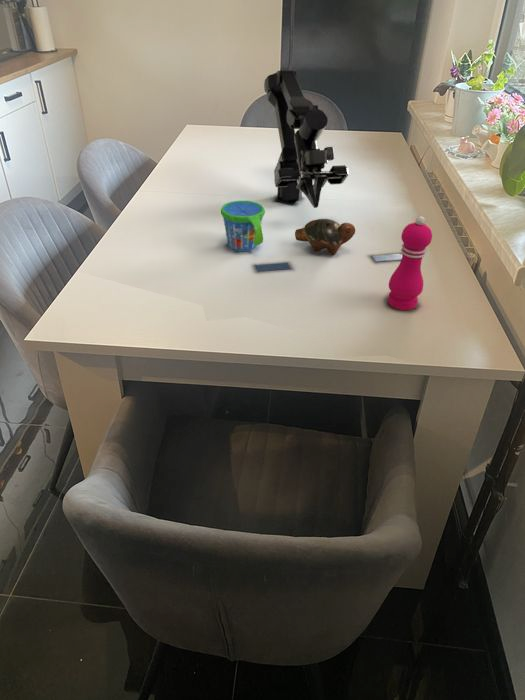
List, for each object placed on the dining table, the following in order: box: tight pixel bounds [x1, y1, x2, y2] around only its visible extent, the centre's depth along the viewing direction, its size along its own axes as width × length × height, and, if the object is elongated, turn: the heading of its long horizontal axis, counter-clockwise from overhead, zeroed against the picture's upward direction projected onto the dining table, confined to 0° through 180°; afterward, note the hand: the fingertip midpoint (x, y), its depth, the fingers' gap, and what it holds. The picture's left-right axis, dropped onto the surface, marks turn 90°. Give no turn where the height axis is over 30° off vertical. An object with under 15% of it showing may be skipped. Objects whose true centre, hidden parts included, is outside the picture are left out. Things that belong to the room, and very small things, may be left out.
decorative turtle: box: [294, 218, 356, 256], centre depth 137 cm, size 10×15×8 cm, turn 80°
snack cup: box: [220, 200, 266, 252], centre depth 136 cm, size 16×10×10 cm
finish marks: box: [255, 253, 402, 273], centre depth 133 cm, size 3×38×1 cm, turn 103°
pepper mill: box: [387, 215, 433, 311], centre depth 113 cm, size 7×7×20 cm
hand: (316, 207), depth 140 cm, fingers closed
